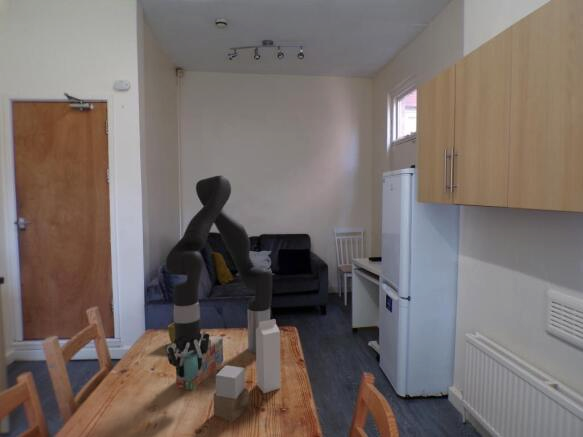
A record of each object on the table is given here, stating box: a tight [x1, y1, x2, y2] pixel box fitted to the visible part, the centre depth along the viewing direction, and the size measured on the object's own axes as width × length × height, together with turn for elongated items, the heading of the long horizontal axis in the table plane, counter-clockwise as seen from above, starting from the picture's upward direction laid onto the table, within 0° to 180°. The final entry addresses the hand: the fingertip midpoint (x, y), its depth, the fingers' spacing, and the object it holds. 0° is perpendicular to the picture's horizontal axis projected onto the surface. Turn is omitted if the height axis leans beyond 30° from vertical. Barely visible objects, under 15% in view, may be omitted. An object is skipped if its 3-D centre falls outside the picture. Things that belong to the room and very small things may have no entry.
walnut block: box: [212, 388, 250, 423], centre depth 99 cm, size 7×7×6 cm
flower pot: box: [167, 322, 175, 344], centre depth 147 cm, size 9×9×9 cm
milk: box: [255, 318, 282, 394], centre depth 112 cm, size 6×6×22 cm
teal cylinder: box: [182, 352, 198, 379], centre depth 103 cm, size 5×5×6 cm
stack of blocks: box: [175, 335, 224, 391], centre depth 121 cm, size 21×6×12 cm, turn 164°
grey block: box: [215, 365, 246, 399], centre depth 98 cm, size 6×6×6 cm
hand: (189, 372), depth 103 cm, fingers closed on teal cylinder, 5 cm apart
